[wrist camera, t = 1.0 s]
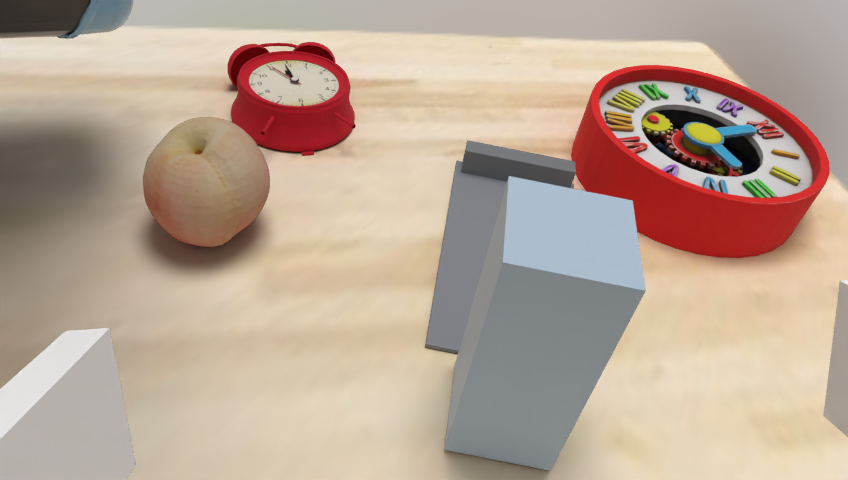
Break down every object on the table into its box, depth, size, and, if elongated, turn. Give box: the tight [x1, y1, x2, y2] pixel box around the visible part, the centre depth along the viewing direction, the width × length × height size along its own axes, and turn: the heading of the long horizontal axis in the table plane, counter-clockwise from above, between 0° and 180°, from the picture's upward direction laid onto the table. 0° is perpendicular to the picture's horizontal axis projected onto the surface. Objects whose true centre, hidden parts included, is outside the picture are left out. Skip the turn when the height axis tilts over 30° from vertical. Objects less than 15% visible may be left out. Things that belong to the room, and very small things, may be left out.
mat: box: [425, 140, 576, 354], centre depth 50 cm, size 20×10×2 cm, turn 173°
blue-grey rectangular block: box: [444, 176, 646, 471], centre depth 36 cm, size 6×6×15 cm
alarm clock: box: [228, 42, 355, 156], centre depth 60 cm, size 10×6×15 cm
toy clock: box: [571, 65, 829, 258], centre depth 60 cm, size 20×6×20 cm
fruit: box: [143, 117, 270, 247], centre depth 46 cm, size 8×8×8 cm
